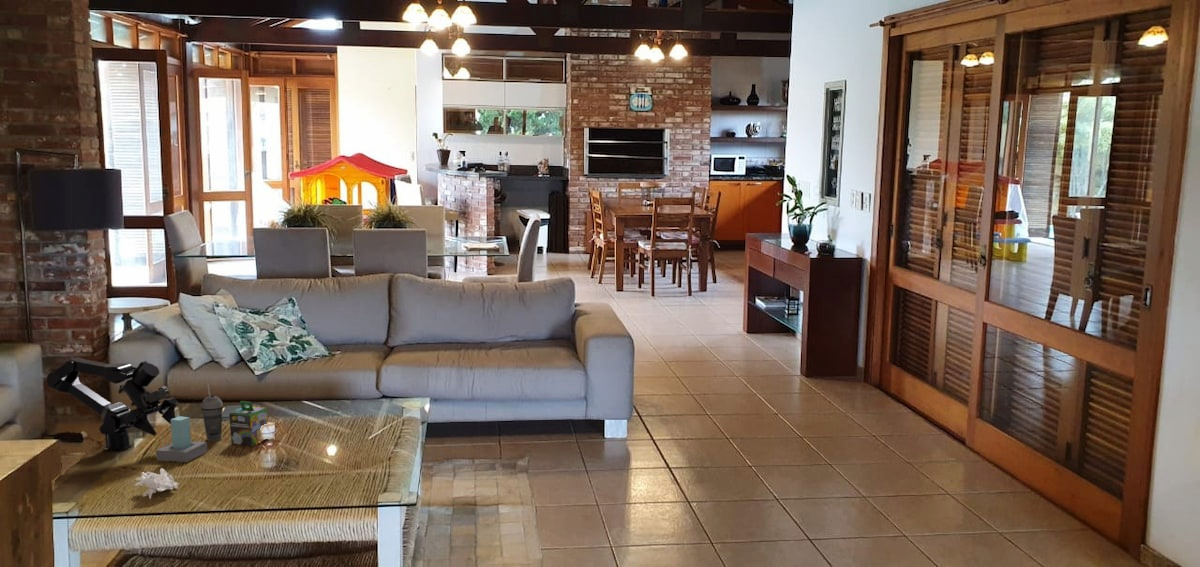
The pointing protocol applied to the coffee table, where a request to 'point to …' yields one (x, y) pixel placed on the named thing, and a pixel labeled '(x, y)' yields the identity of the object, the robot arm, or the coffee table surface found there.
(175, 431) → the peg
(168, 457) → the socket
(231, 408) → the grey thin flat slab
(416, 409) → the coffee table surface
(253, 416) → the chalk box
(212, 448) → the coffee table surface
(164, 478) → the white crumpled lump
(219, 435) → the beverage cup
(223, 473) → the coffee table surface
